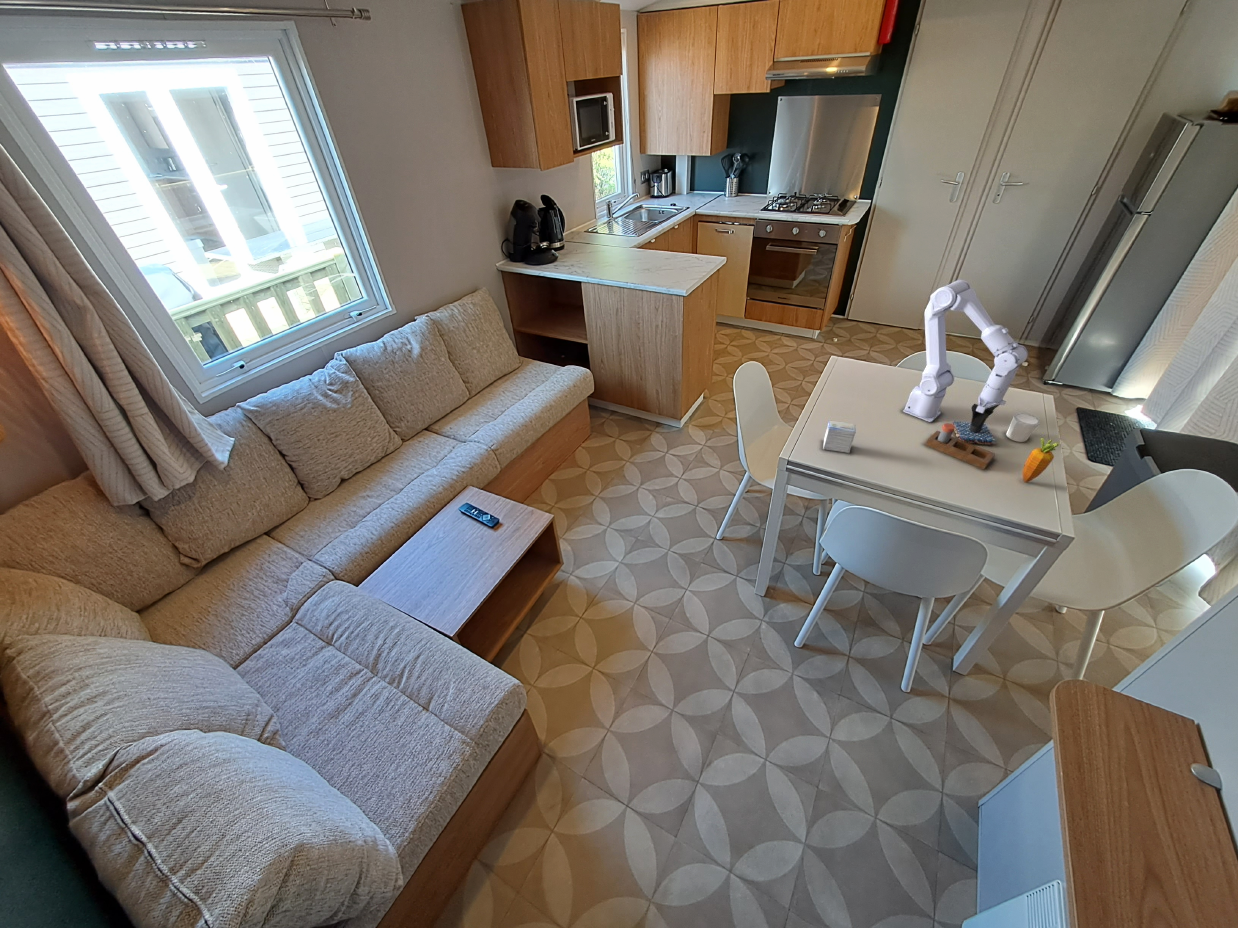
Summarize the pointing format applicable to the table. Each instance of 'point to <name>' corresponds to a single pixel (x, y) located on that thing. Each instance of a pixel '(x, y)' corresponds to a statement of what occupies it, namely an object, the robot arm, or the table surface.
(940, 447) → the marker stand
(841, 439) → the medicine box
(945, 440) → the grey marker
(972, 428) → the cylinder
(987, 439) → the woven mat
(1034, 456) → the carrot
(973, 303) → the robot arm
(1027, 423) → the white cylinder
